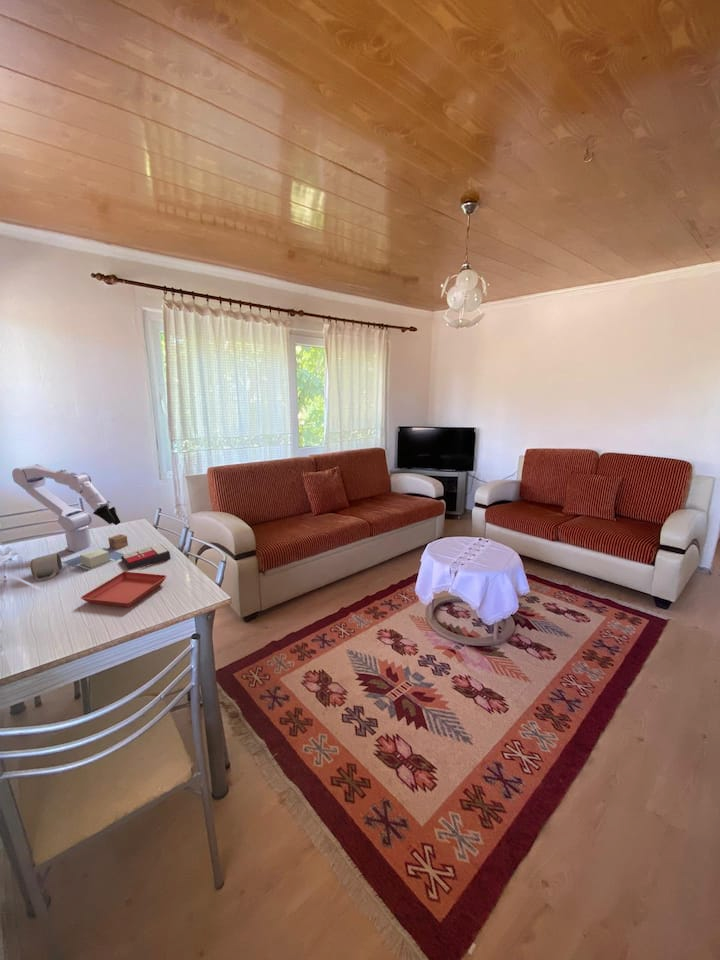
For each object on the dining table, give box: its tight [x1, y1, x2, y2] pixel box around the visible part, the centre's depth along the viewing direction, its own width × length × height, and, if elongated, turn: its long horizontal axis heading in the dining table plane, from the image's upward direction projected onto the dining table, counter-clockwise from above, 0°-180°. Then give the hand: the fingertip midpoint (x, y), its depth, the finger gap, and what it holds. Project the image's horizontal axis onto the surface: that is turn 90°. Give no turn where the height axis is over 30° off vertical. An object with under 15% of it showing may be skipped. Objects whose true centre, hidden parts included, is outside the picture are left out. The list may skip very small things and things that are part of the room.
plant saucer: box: [80, 571, 167, 608], centre depth 129 cm, size 18×18×3 cm
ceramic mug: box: [29, 552, 63, 582], centre depth 141 cm, size 11×8×8 cm
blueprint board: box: [62, 547, 125, 572], centre depth 155 cm, size 18×16×1 cm
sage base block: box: [79, 548, 110, 568], centre depth 151 cm, size 7×7×4 cm
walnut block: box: [107, 533, 129, 550], centre depth 168 cm, size 5×5×5 cm
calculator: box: [121, 543, 171, 570], centre depth 154 cm, size 11×4×15 cm
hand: (115, 523), depth 161 cm, fingers open, 7 cm apart
